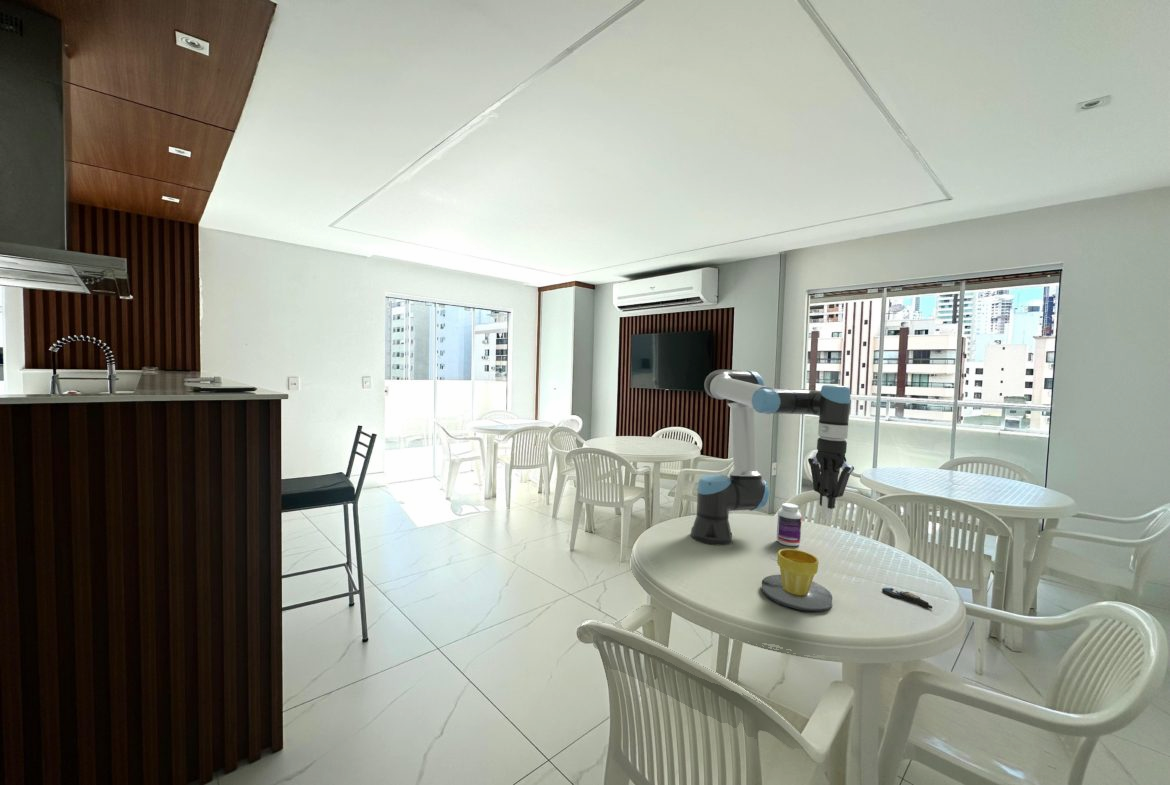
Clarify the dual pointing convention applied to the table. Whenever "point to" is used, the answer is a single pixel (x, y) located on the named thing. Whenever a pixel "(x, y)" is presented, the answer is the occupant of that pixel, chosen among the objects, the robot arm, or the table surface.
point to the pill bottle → (789, 525)
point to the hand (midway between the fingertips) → (826, 518)
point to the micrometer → (907, 597)
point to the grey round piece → (812, 601)
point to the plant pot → (797, 570)
